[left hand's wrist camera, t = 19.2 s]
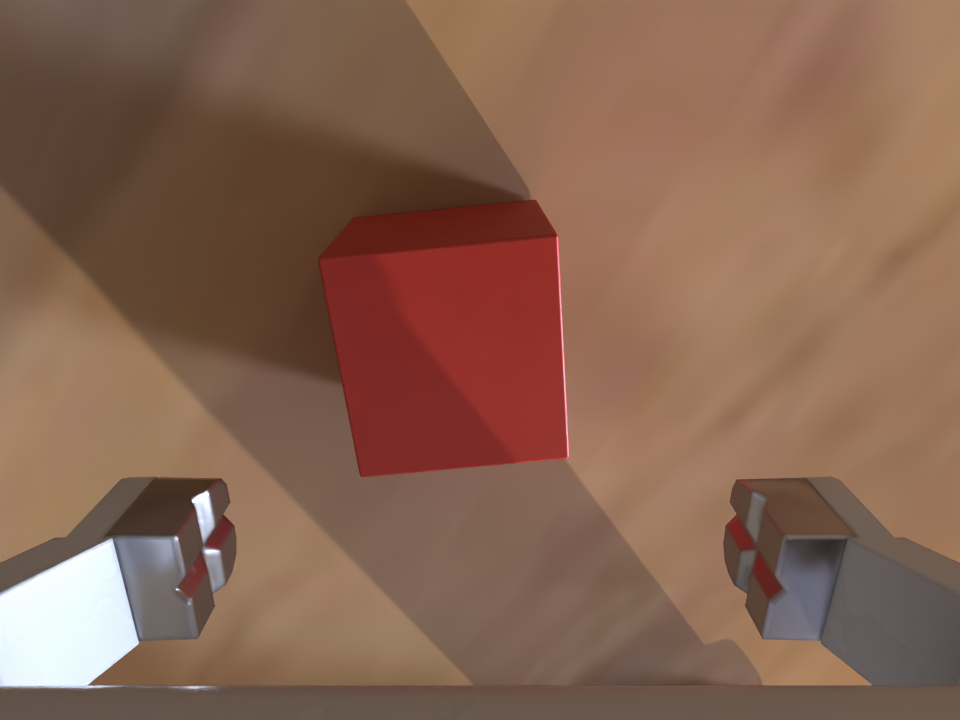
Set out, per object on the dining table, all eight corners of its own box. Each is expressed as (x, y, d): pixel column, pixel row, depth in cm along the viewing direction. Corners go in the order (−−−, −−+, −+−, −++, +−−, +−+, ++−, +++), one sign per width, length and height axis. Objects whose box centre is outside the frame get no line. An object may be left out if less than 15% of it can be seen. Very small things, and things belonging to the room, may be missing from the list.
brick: (352, 217, 16) (316, 257, 13) (537, 199, 16) (558, 233, 12) (382, 395, 18) (359, 478, 14) (547, 380, 18) (569, 459, 14)
